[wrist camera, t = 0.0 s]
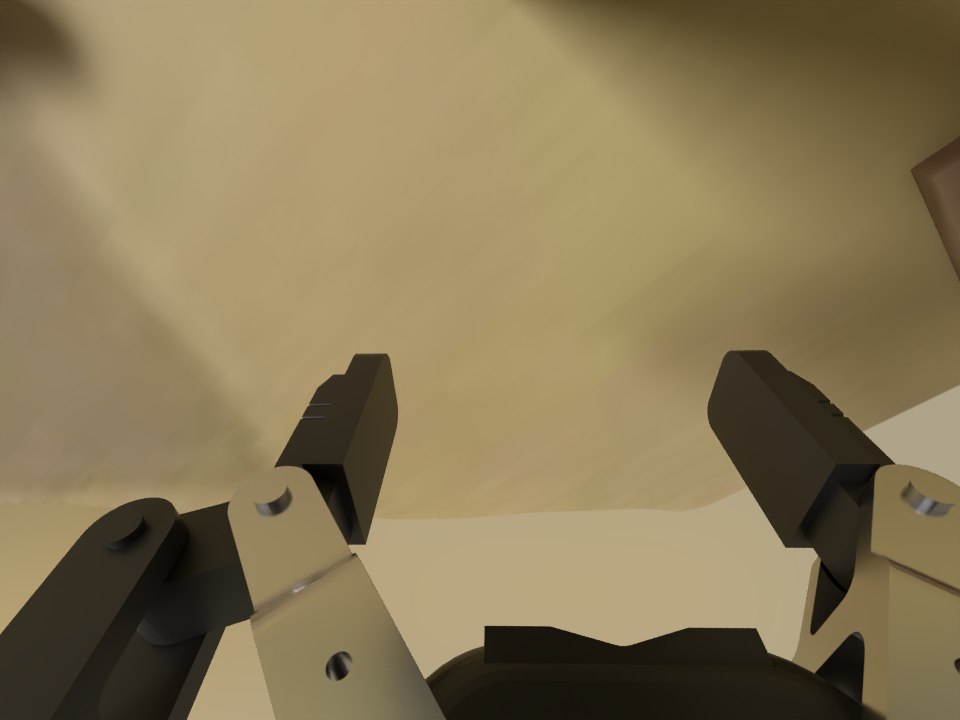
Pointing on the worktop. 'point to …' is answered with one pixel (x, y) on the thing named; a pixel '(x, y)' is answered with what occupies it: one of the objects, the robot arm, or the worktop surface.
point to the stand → (943, 195)
